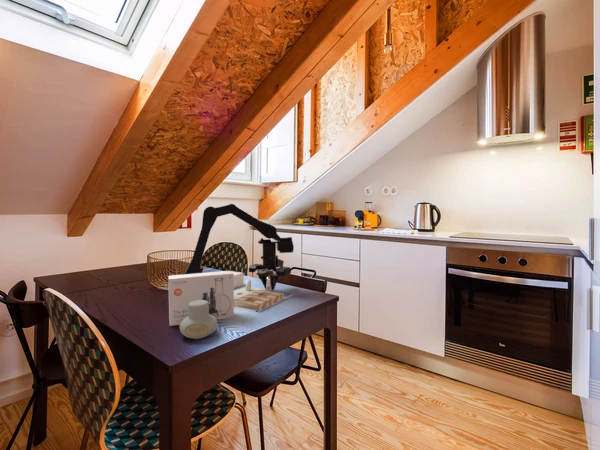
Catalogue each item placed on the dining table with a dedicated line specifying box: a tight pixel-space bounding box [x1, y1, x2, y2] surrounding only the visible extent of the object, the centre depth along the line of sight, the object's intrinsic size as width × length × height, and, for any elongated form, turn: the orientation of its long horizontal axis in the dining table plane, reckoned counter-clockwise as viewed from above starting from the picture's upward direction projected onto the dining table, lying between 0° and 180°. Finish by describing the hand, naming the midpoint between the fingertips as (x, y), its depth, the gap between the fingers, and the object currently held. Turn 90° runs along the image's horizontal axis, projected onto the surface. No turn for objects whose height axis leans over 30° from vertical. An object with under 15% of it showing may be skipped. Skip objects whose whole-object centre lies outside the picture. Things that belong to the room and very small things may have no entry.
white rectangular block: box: [232, 271, 244, 289], centre depth 151 cm, size 12×7×6 cm, turn 150°
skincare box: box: [167, 270, 235, 327], centre depth 110 cm, size 21×5×16 cm, turn 114°
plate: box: [234, 279, 266, 299], centre depth 142 cm, size 16×11×5 cm
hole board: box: [234, 289, 285, 313], centre depth 128 cm, size 18×12×2 cm, turn 151°
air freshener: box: [179, 300, 219, 340], centre depth 97 cm, size 11×8×10 cm
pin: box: [265, 275, 275, 292], centre depth 140 cm, size 3×3×7 cm
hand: (269, 289), depth 140 cm, fingers closed on pin, 3 cm apart
